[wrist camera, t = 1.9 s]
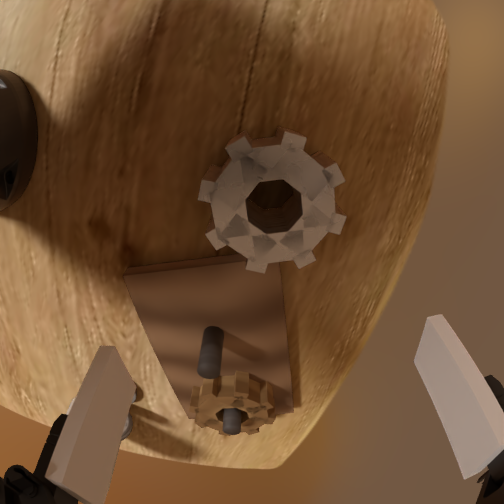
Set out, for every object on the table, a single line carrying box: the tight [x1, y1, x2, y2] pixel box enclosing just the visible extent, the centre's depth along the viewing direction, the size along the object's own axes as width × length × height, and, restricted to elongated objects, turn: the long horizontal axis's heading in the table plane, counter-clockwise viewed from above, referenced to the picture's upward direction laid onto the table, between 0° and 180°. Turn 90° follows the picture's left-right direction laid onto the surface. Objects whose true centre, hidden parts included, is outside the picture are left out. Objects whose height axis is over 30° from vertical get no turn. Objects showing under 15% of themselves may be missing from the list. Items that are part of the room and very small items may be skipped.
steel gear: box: [198, 126, 347, 274], centre depth 22 cm, size 10×10×5 cm
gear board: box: [123, 254, 294, 436], centre depth 29 cm, size 23×14×6 cm, turn 8°
